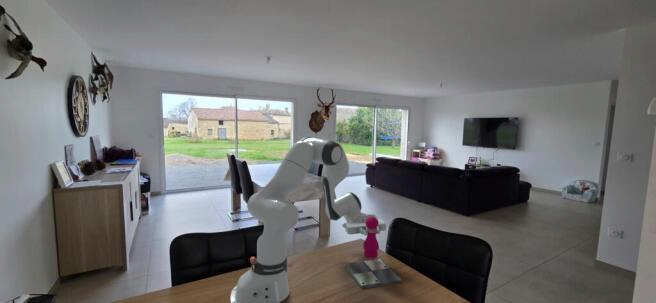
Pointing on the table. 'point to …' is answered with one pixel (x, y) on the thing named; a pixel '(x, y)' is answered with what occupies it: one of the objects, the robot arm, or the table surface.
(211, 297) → the table surface
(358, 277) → the tile board
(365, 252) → the pepper mill
